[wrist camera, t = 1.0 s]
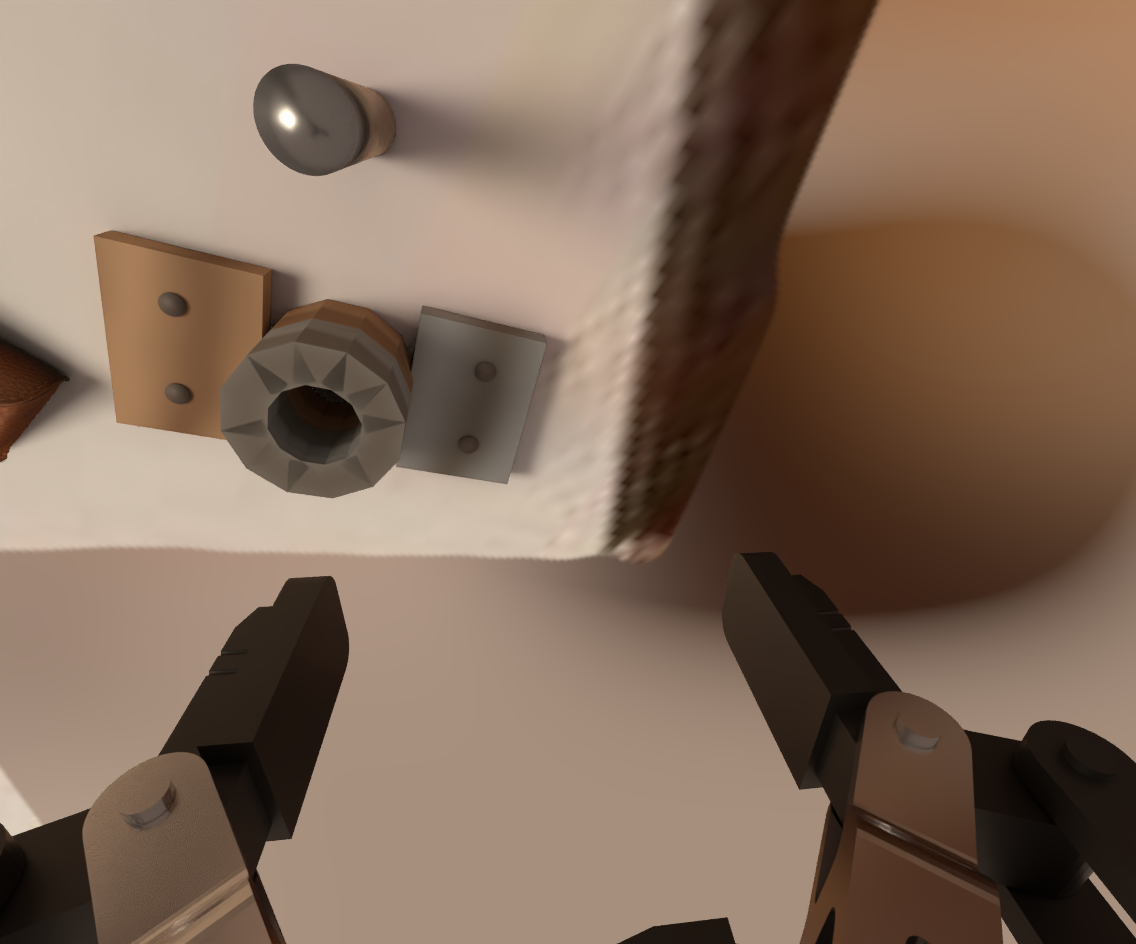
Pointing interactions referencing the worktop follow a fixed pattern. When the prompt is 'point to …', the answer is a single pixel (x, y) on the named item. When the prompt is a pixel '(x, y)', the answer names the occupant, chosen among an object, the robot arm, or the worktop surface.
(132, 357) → the hinge leaves
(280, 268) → the worktop surface
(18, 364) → the sunglasses case
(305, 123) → the hinge pin
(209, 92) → the worktop surface
